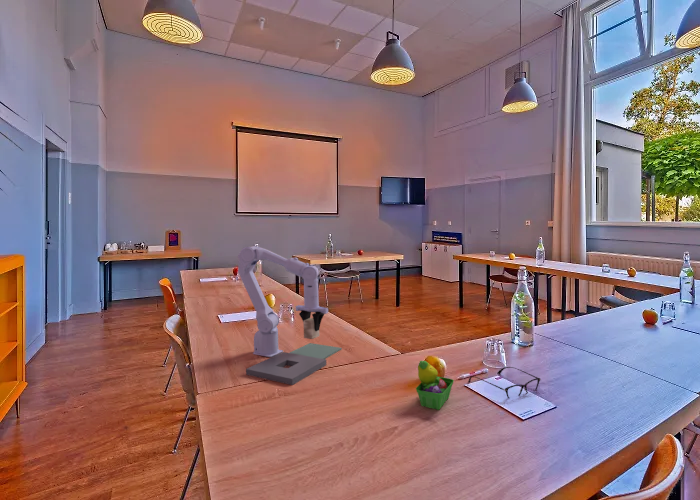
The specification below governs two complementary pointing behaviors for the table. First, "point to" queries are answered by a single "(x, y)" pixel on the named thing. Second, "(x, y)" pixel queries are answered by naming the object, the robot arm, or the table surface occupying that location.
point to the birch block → (310, 329)
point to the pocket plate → (291, 375)
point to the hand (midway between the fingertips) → (312, 329)
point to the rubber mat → (316, 350)
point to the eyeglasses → (513, 385)
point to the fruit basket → (432, 386)
